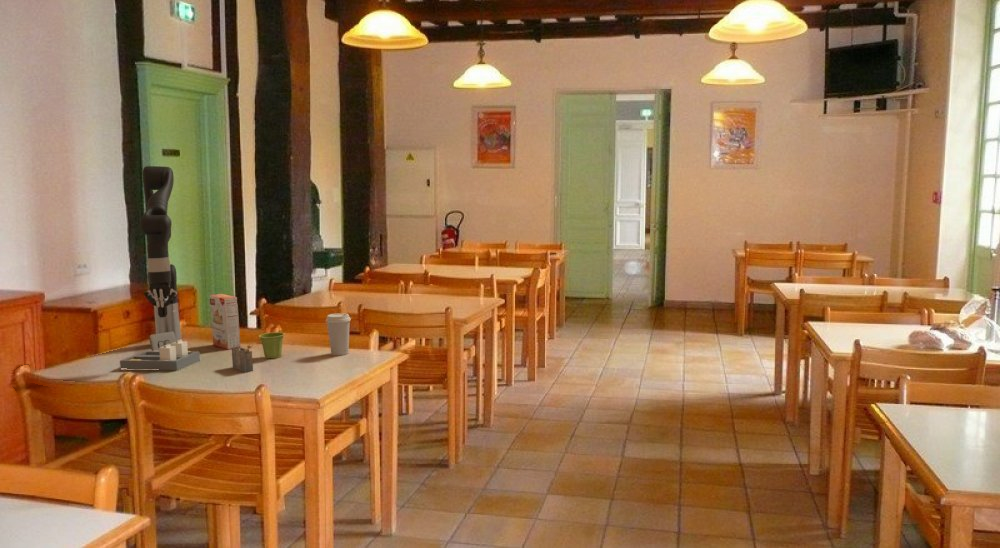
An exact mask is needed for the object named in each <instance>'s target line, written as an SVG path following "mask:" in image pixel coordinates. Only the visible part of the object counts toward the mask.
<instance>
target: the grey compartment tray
mask: <svg viewBox="0 0 1000 548" xmlns="http://www.w3.org/2000/svg"><path fill="white" fill-rule="evenodd" d="M176 359H177V360H160V352H159V351H152V350H144V351H141V352H139V353H136V354H134V355H131V356H128V357H126V358H124V359H120V360H119V366H120V367H119V369H121V368H127V369H159V370H178V371H180V370H182V369H185V368H186V366H187V367H189V366H191V365H193V363H194V364H195V363H198V362H200V361H201V357H200V351H199V350H198V351H197V350H196V351H191V350H188V355H176ZM188 365H189V366H188ZM184 367H185V368H184ZM181 368H182V369H181ZM179 369H180V370H179Z"/></svg>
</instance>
